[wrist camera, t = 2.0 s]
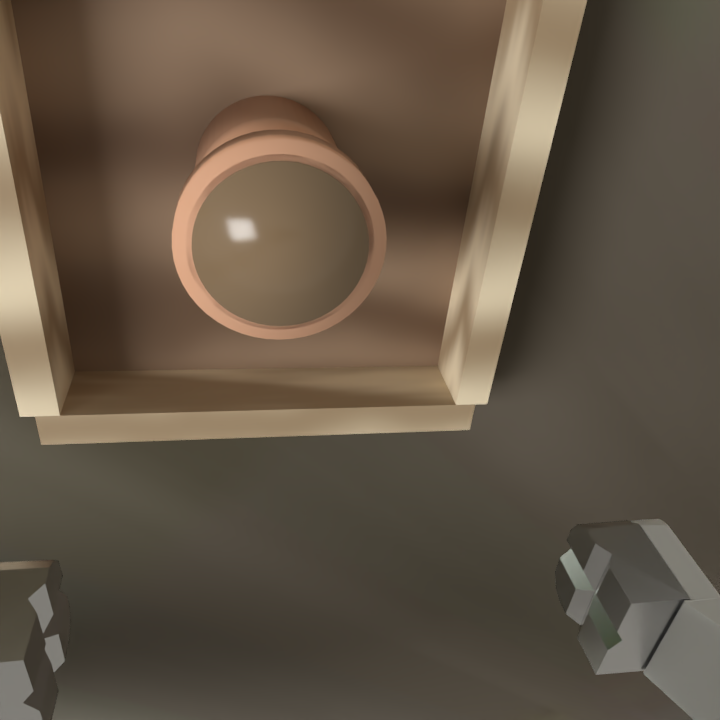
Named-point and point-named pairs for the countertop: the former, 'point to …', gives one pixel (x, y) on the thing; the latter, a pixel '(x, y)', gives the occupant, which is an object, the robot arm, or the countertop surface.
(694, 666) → the robot arm
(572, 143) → the countertop surface
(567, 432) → the countertop surface
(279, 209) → the seedling pot
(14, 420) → the countertop surface
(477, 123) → the wooden box
